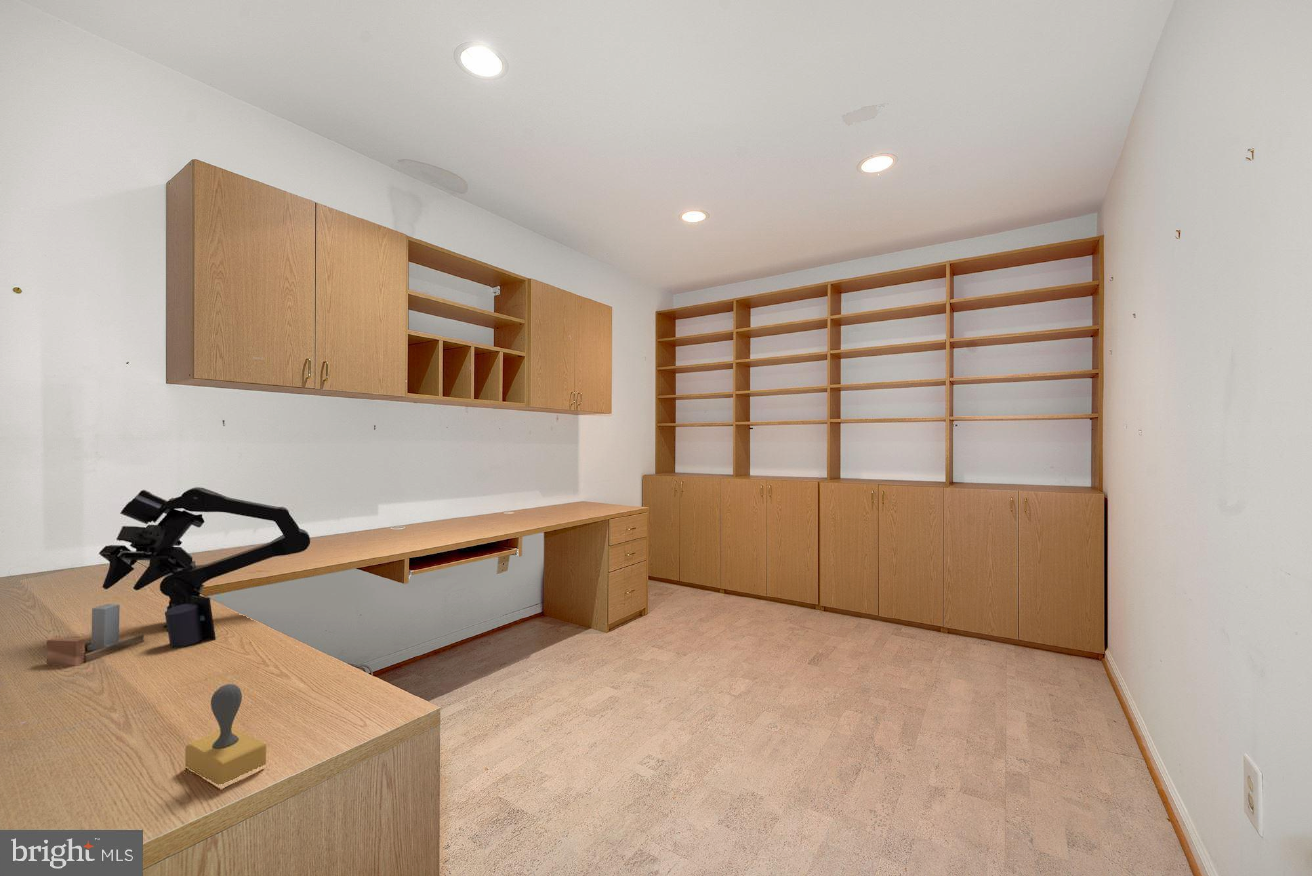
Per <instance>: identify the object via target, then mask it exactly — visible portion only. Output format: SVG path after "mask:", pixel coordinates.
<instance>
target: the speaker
mask: <svg viewBox="0 0 1312 876" xmlns="http://www.w3.org/2000/svg"><path fill="white" fill-rule="evenodd" d="M190 598H191V603H188V604H182V605H178V606H175V607H172V608H170V609H168V610H167V609H166V611H165V612H164V616H165V622H166V623H165V624H167V627H166V628H167V629H166V630H167V633H168V641H169V646H170V647H172V648H174V649H179V648H183V647H184V648H185V647H188V646H191V645H195V644H196V643H198V642H200V641H201V640H202V639H204V640H211V641H215V640H216V639H217V638H216V630H215V624H214V619H213V611H212V604H211V597H208V596H205V597H199V596H190Z"/></svg>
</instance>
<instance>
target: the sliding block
mask: <svg viewBox="0 0 1312 876" xmlns="http://www.w3.org/2000/svg"><path fill="white" fill-rule="evenodd" d="M120 607H121V605H120V604H114V603H113V604H110V603H106V604H102V605H100V606H99V605H98V606H96V607H93V608H91V637H90V638H91V639H90V640H91V641H90V642H91V645H88V646H87V650H89V652H90V651H91V652H93V651H96V650H99V649H102V648H105V647H108V646H110V645H113V644H116V643H119V642H122V641H123V640H122V641H121V640H120Z"/></svg>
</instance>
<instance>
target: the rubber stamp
mask: <svg viewBox="0 0 1312 876" xmlns="http://www.w3.org/2000/svg"><path fill="white" fill-rule="evenodd" d="M242 697H243V694H242V690H241V689H240V688H239V686H238V685H237V684H233V683H226V684H224V685H222V686H220V687H218V689H216V690H215V691H214V693H213V694H212V696H211V699H210V708H211V711H212V713H213V715H214V718H215V719H216V721H217V723H218V726H219V729H220V730H218V731H215V732H213V733H211V734H208V735H205V736H203V737H201V738H198V739H196V740H193V741H190V742H188V743H187V744H186V745H185V750H184V751H185V756H184V757H185V761H184V763H185V764H184V766H186V767H188V769H190V770H192V771H194V772H195V773H197V774H199V775H201V776H202V777H205V778H206V779H209V780H211V781H212V782H214V783H216V784H218V785H219V784H224V783H225V782H228V781H230V780H233V779H235V778H237V777H239V776H240V775H243V774H245V773H248V772H249V771H252V770H253V769H257V768H258V767H261V766H263V765H265V764H266V765H267V743H266V742H263V741H261V740H259V739H257V738H255V737H253V736H251V735H249V734H248V733H245V732H243V731H241V730H239V729H238V728H235V727H233V723H234V720H235V718H236V716H237V713H238V711H239V709H240V706H241V704H242V699H243V698H242Z"/></svg>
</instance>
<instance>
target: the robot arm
mask: <svg viewBox="0 0 1312 876" xmlns="http://www.w3.org/2000/svg"><path fill="white" fill-rule="evenodd" d="M180 509H183V510H180ZM193 512H195V513H200V514H194V513H193ZM202 513H227V514H231V515H232V514H233V515H237V516H243V517H248V518H249V517H250V518H252V519H253V518H254V519H260V520H266V521H270V522H274V523H275V524H276V526H277V527H278V528H279V530H280V532H281V535H279V536H277V538H275V539H273V540H271V541H270V542H267V543H265V544H261V545H258V546H256V547H253V548H249V549H246V550H244V551H241V552H238V553H235V554H232V555H229V556H227V557H223V558H220V559H217V560H215V561H211V562H209V563H205V564H200V565H199V564H198V565H197V564H196V560H193V556H192V555H191V554H189V552H188V551H186V550H185V549H184V548H182V546H181V545H182V543H183V541H181V538H182V537H183V536H184V535H185V534H186V533H187V531H188V530H189V529H190V527H192V526H194V527H196V528H202V526H203V525H204V524H205V520H204V518H203V514H202ZM164 514H165V515H164ZM120 515H123V516H125V517H128V518H130V519H132V520H135V521H137V522H140V523H143V524H145V525H146V526H145V527H144V526H138V525H137V526H131V525H122V527H121V528H120V531H119V533H118V535H117V537H116V541H120V542H121V541H123V542H127V543H130V544H129V547H131V548H132V549H135V550H134V551H132V550H131V549H130V548H128V547H127V546H126V545H124V544H121V545H120V544H109V545H105V546H103V548H102V549H101V550H100V551H99V552H98V555H99V556H101V557H102V558H104V559H105V560H106V561H108V563H109V567H108V571H107V573H106V576H105V578H104V581H103V584H102V588H103V589H104V590H109V589H110V588H111V587H113V586H115V585H116V584H117V583H118V582H119V581H121V580H122V579H124V578H125V577H126V576H127V575H129V574H130V573H131V572H133V571H134V570H135V568H134V567H133V566H134V565H135V564H136V563H137V562H138V561H146V562H149V563H148V565H147V568H146V569H145V570H144V572H143V573H142V574H141V576H140V577H139V578H138V579H137V581H136V583H135V584H134V585H133V588H132V589H133V590H135V591H139V590H141V589H143V588H145V587H146V586H148V585H151V584H152V583H154V582H156V581H158V580H160V579H162V578H163V579H162V580H161V581H160V584H159V591H160V592H161V593H162V595H164V596H165V597H168V598H169V600H168V605H167V607H166V611H167V610H168V609H170V608H172V607H175V606H178V605H182V604H188V603H191V598H190V596H199V597H206V595H205V596H204V595H201V594H202V592H203V590H204V588H205V585H204V583H207V582H208V581H210V580H212V579H215V578H218V577H221V576H223V575H226V574H230V573H232V572H235V571H237V570H240V569H243V568H246V567H248V566H251V565H254V564H257V563H260V562H262V561H265V560H269V559H271V558H275V557H280V556H281V557H284V556H290V555H294V554H299V553H302V552H304V551H306V550H307V549H308V548H309V546H310V544H311V538H310V537H311V536H310V534H309V533H308V531H306V530H305V529H302V528H300V526H299V525H298V524H297V522H296V520H294V518H293V516H292V515H291V514H290V512H289V509H288V508H286V507H283V506H273V505H269V504H264V503H259V502H253V501H249V500H243V499H240V498H232V497H229V496H226V495H223V494H220V493H218V492H216V491H213V490H211V489H208V488H205V487H202V486H201V487H197V486H196V487H195V486H194V487H192V488H190V489H188V490H186V491H185V492H183V493H182V494H181V495H180V496H177V497H171V498H169V499H168V500H167V499H165V498H162V497H159V496H157V495H155V494H153V493H152V492H149V491H148V490H145V489H142V490H140V492H138V494H136V495H135V496H134V498H132V499H131V500H130V501H129V502H128V503H127V504H126V505H125V506H124V507H123V508H122V509H121V511H120ZM163 515H164V516H163ZM162 516H163V518H162V519H160V518H161V517H162ZM159 520H160V521H159ZM157 521H159V522H158V523H157ZM149 523H157V524H149ZM163 628H167V624H166V623H165V624H163Z"/></svg>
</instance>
